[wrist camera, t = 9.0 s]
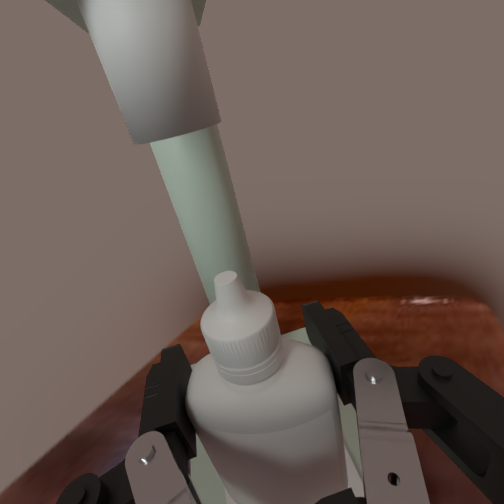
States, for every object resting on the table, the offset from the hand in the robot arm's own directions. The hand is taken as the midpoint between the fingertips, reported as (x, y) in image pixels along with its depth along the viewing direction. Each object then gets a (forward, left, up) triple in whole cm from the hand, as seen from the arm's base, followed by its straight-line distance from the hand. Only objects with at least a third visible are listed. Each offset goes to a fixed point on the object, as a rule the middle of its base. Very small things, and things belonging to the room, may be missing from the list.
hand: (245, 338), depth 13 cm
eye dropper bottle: (+1, -2, -7) cm, 8 cm away
